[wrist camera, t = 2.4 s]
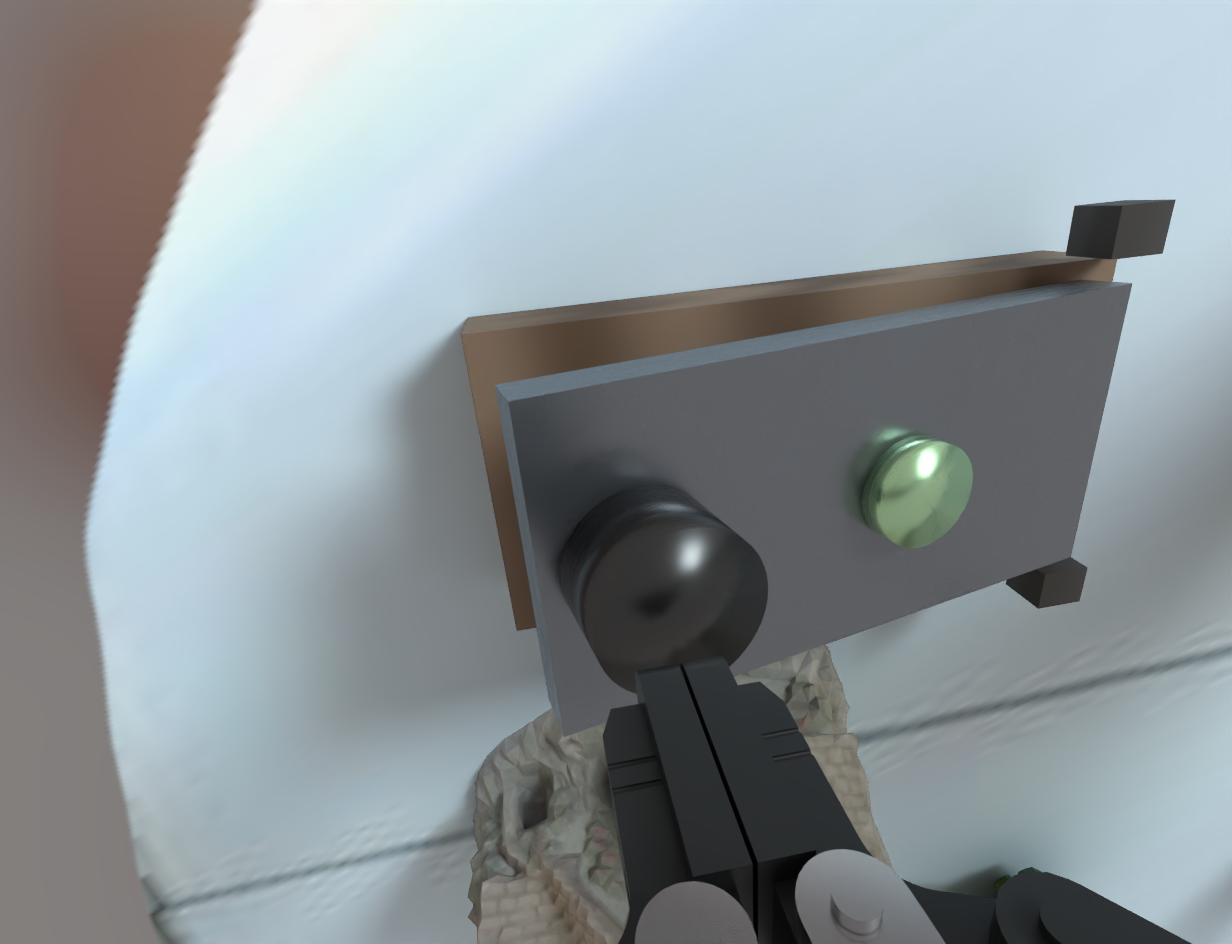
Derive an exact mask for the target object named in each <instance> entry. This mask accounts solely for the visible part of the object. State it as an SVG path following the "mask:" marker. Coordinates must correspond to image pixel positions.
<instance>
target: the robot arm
mask: <svg viewBox="0 0 1232 944" xmlns="http://www.w3.org/2000/svg"><path fill="white" fill-rule="evenodd" d="M635 678H636V689H637V699H638V704H635V705H630V706H624V707H619V708H613V709H611V710H610V713H609V716H608V720H607V723H606V726H605V729H604V732H603V744H604V751H605V759H606V766H607V774H608V781H609V789H610V796H611V804H612V810H613V815H614V821H615V827H616V833H617V839H618V845H619V851H620V857H621V863H622V869H623V875H624V881H625V887H626V893H627V899H628V904H629V916H628V921H627V924H626V927H625V930H624V933H623V935H622V937H621V939H620V941H619V942H618V944H1191V943H1189V942H1188V941H1186V940H1184V939H1182V938H1180V937H1178V936H1176V935H1174V934H1172V933H1171V932H1169V931H1167V930H1165V929H1163V928H1161V927H1159V926H1157V925H1155V924H1154V923H1152V922H1150V921H1148V920H1146V919H1144V918H1142V917H1140V916H1138V915H1137V914H1135V913H1133V912H1131V911H1129V910H1127V909H1125V908H1123V907H1121V906H1120V905H1118V904H1116V903H1114V902H1112V901H1110V900H1108V899H1106V898H1104V897H1103V896H1101V895H1099V894H1097V893H1095V892H1093V891H1091V890H1089V889H1087V888H1086V887H1084V886H1082V885H1080V884H1078V883H1075V882H1073V881H1071V880H1069V879H1066V878H1063V877H1060V876H1057V875H1053V874H1048V873H1041V872H1028V873H1022V874H1018V875H1015V876H1013V877H1011V878H1010V879H1008V880H1007V881H1006V882H1005V883H1004V884H1003V885H1002V886H1001V888H1000V890H999V891H998V894H997V898H996V899H995V898H987V897H979V896H971V895H963V894H955V893H948V892H940V891H935V890H930V889H926V888H923V887H920V886H917V885H914V884H912V883H910V882H908V881H905V880H903V879H902V878H900V877H899V876H898V875H897V874H896V873H895V872H894V871H893V870H892V869H891V868H889V867H888V866H887V865H885V864H884V863H882V862H881V861H879V860H877V859H876V858H874V857H873V856H872V854H871V853H870V852H869V851H868V850H867V848H866V847H865V845H864V844H863V842H862V841H861V839H860V837H859V836H858V834H857V832H856V830H855V828H854V827H853V825H852V823H851V821H850V819H849V818H848V816H847V814H846V812H845V810H844V809H843V807H842V805H841V803H840V801H839V800H838V798H837V796H836V794H835V792H834V791H833V789H832V787H831V785H830V783H829V782H828V780H827V778H826V776H825V774H824V773H823V771H822V769H821V767H820V765H819V764H818V762H817V760H816V758H815V756H814V755H812V754H811V750H810V747H809V746H808V744H807V742H806V740H805V738H804V737H803V735H802V733H800V732H799V729H798V726H797V724H796V722H795V720H794V719H793V717H792V715H791V713H790V711H789V710H788V708H787V706H786V704H785V702H784V701H783V700H782V699H781V698H779V697H778V696H777V695H776V694H775V693H773V692H772V691H771V690H770V689H768V688H767V687H766V686H765V685H764V684H762V683H761V682H760V681H759V682H753V683H748V684H742V685H737V683H736V680H735V678H734V676H733V674H732V672H731V670H730V668H729V666H728V664H727V662H726V660H725V658H724V657H723V656H716V657H711V658H705V659H699V660H694V661H688V662H683V663H680V665H678V664H673V665H667V666H661V667H656V668H650V669H645V670H639V671H636V672H635Z"/></svg>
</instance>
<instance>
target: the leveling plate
mask: <svg viewBox="0 0 1232 944" xmlns="http://www.w3.org/2000/svg"><path fill="white" fill-rule="evenodd" d="M1131 287H1132V283H1121V282H1108V281H1095V280H1082V279H1079V280H1073V281H1068V282H1062V283H1057V284H1051V285H1046V286H1040V287H1035V288H1029V289H1023V290H1018V291H1012V292H1007V293H1001V294H996V295H990V296H985V297H979V298H974V299H968V300H963V301H957V302H951V303H946V304H940V305H935V306H929V307H924V308H918V309H913V310H907V311H902V312H896V313H891V314H885V315H879V316H874V317H868V318H863V319H857V320H852V321H846V322H841V323H835V324H830V325H824V326H819V327H813V328H807V329H802V330H796V331H791V332H785V333H780V334H774V335H769V336H763V337H758V338H752V339H747V340H741V341H735V342H730V343H724V344H719V345H713V346H708V347H702V348H697V349H691V350H686V351H680V352H674V353H669V354H663V355H658V356H652V357H647V358H641V359H636V360H630V361H625V362H619V363H614V364H608V365H602V366H597V367H591V368H586V369H580V370H575V371H569V372H564V373H558V374H553V375H547V376H542V377H536V378H530V379H525V380H519V381H514V382H508V383H503V384H497V385H495V390H496V395H497V401H498V407H499V413H500V419H501V424H502V430H503V436H504V442H505V447H506V453H507V459H508V465H509V471H510V476H511V482H512V488H513V494H514V500H515V505H516V511H517V517H518V523H519V528H520V534H521V540H522V546H523V552H524V557H525V563H526V569H527V575H528V581H529V586H530V592H531V598H532V604H533V609H534V615H535V621H536V627H537V633H538V638H539V644H540V650H541V656H542V662H543V667H544V673H545V679H546V685H547V690H548V696H549V700H550V703H551V705H552V708H553V711H554V713H555V716H556V718H557V721H558V723H559V726H560V728H561V731H562V733H563V736H564V737H566V736H569V735H572V734H575V733H577V732H580V731H583V730H586V729H589V728H592V727H594V726H597V725H600V724H603V723H606V722H607V720H608V716H609V713H610V710H611V709H613V708H619V707H624V706H630V705H635V704H638V699H637V689H636V678H635V672H636V671H639V670H645V669H650V668H656V667H661V666H667V665H673V664H678V665H680V663H683V662H688V661H694V660H699V659H705V658H711V657H716V656H723V657H724V658H725V660H726V662H727V664H728V666H729V668H730V670H731V672H732V674H733V676H734V677H735V676H738V675H740V674H743V673H746V672H749V671H752V670H754V669H757V668H760V667H763V666H766V665H769V664H771V663H774V662H777V661H780V660H783V659H785V658H788V657H791V656H794V655H797V654H799V653H802V652H805V651H808V650H811V649H813V648H816V647H819V646H822V645H825V644H828V643H830V642H833V641H836V640H839V639H842V638H844V637H847V636H850V635H853V634H856V633H858V632H861V631H864V630H867V629H870V628H872V627H875V626H878V625H881V624H884V623H887V622H889V621H892V620H895V619H898V618H901V617H903V616H906V615H909V614H912V613H915V612H917V611H920V610H923V609H926V608H929V607H931V606H934V605H937V604H940V603H943V602H945V601H948V600H951V599H954V598H957V597H960V596H962V595H965V594H968V593H971V592H974V591H976V590H979V589H982V588H985V587H988V586H990V585H993V584H996V583H999V582H1002V581H1004V580H1007V579H1010V578H1013V577H1016V576H1019V575H1021V574H1024V573H1027V572H1030V571H1033V570H1035V569H1038V568H1041V567H1044V566H1047V565H1049V564H1052V563H1055V562H1058V561H1061V560H1063V559H1066V558H1069V557H1071V553H1072V549H1073V544H1074V540H1075V535H1076V531H1077V527H1078V522H1079V518H1080V513H1081V509H1082V504H1083V500H1084V495H1085V491H1086V487H1087V482H1088V478H1089V473H1090V469H1091V464H1092V460H1093V455H1094V451H1095V447H1096V442H1097V438H1098V433H1099V429H1100V424H1101V420H1102V416H1103V411H1104V407H1105V402H1106V398H1107V393H1108V389H1109V384H1110V380H1111V376H1112V371H1113V367H1114V362H1115V358H1116V353H1117V349H1118V344H1119V340H1120V336H1121V331H1122V327H1123V322H1124V318H1125V313H1126V309H1127V304H1128V300H1129V296H1130V291H1131Z"/></svg>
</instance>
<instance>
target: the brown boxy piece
mask: <svg viewBox="0 0 1232 944" xmlns="http://www.w3.org/2000/svg"><path fill="white" fill-rule="evenodd" d="M1174 203H1175V200H1125V201H1115V202H1106V203H1096V204H1087V205H1078V206H1075V207H1074V212H1073V218H1072V223H1071V229H1070V234H1069V240H1068V245H1067V251H1066V252H1055V251H1035V252H1026V253H1018V254H1009V255H1000V256H992V257H983V258H975V259H966V260H958V261H949V262H940V263H932V264H923V265H915V266H906V267H897V268H889V269H880V270H872V271H863V272H855V273H846V274H837V275H829V276H820V277H812V278H803V279H794V280H786V281H777V282H769V283H760V284H751V285H743V286H734V287H726V288H717V289H709V290H700V291H691V292H683V293H674V294H666V295H657V296H648V297H640V298H631V299H623V300H614V301H606V302H597V303H588V304H580V305H571V306H563V307H554V308H545V309H537V310H528V311H520V312H511V313H503V314H494V315H485V316H477V317H468V319H467V321H466V324H465V326H464V328H463V331H462V333H461V337H462V343H463V348H464V353H465V359H466V364H467V369H468V374H469V380H470V385H471V390H472V396H473V401H474V406H475V412H476V417H477V422H478V427H479V433H480V438H481V443H482V449H483V454H484V459H485V465H486V470H487V475H488V481H489V486H490V491H491V496H492V502H493V507H494V512H495V518H496V523H497V528H498V534H499V539H500V544H501V549H502V555H503V560H504V565H505V571H506V576H507V581H508V587H509V592H510V597H511V603H512V608H513V613H514V618H515V624H516V629H517V631H518V630H524V629H530V628H535V627H536V621H535V615H534V609H533V604H532V598H531V592H530V586H529V581H528V575H527V569H526V563H525V557H524V552H523V546H522V540H521V534H520V528H519V523H518V517H517V511H516V505H515V500H514V494H513V488H512V482H511V476H510V471H509V465H508V459H507V453H506V447H505V442H504V436H503V430H502V424H501V419H500V413H499V407H498V401H497V395H496V390H495V385H497V384H503V383H508V382H514V381H519V380H525V379H530V378H536V377H542V376H547V375H553V374H558V373H564V372H569V371H575V370H580V369H586V368H591V367H597V366H602V365H608V364H614V363H619V362H625V361H630V360H636V359H641V358H647V357H652V356H658V355H663V354H669V353H674V352H680V351H686V350H691V349H697V348H702V347H708V346H713V345H719V344H724V343H730V342H735V341H741V340H747V339H752V338H758V337H763V336H769V335H774V334H780V333H785V332H791V331H796V330H802V329H807V328H813V327H819V326H824V325H830V324H835V323H841V322H846V321H852V320H857V319H863V318H868V317H874V316H879V315H885V314H891V313H896V312H902V311H907V310H913V309H918V308H924V307H929V306H935V305H940V304H946V303H951V302H957V301H963V300H968V299H974V298H979V297H985V296H990V295H996V294H1001V293H1007V292H1012V291H1018V290H1023V289H1029V288H1035V287H1040V286H1046V285H1051V284H1057V283H1062V282H1068V281H1073V280H1079V279H1082V280H1095V281H1108V282H1112V281H1113V276H1114V271H1115V267H1116V262H1117V259H1120V258H1129V257H1137V256H1145V255H1154V254H1162V253H1163V249H1164V245H1165V241H1166V237H1167V233H1168V229H1169V224H1170V220H1171V216H1172V212H1173V208H1174ZM1086 571H1087V567H1086V566H1084V565H1082V564H1081V563H1079V562H1077V561H1076V560H1074V559H1073V558H1071V557H1069V558H1066V559H1063V560H1061V561H1058V562H1055V563H1052V564H1049V565H1047V566H1044V567H1041V568H1038V569H1035V570H1033V571H1030V572H1027V573H1024V574H1021V575H1019V576H1016V577H1013V578H1010V579H1007V581H1006V584H1007V585H1008V586H1009V587H1011V588H1012V589H1013V590H1014V591H1016V592H1017V593H1018V594H1020V595H1021V596H1022V597H1024V598H1025V599H1026V600H1028V601H1029V602H1030V603H1032V604H1033V605H1034V606H1036V607H1037V608H1038V609H1039V608H1044V607H1050V606H1055V605H1061V604H1066V603H1072V602H1078V601H1080V596H1081V592H1082V588H1083V584H1084V580H1085V576H1086Z"/></svg>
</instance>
